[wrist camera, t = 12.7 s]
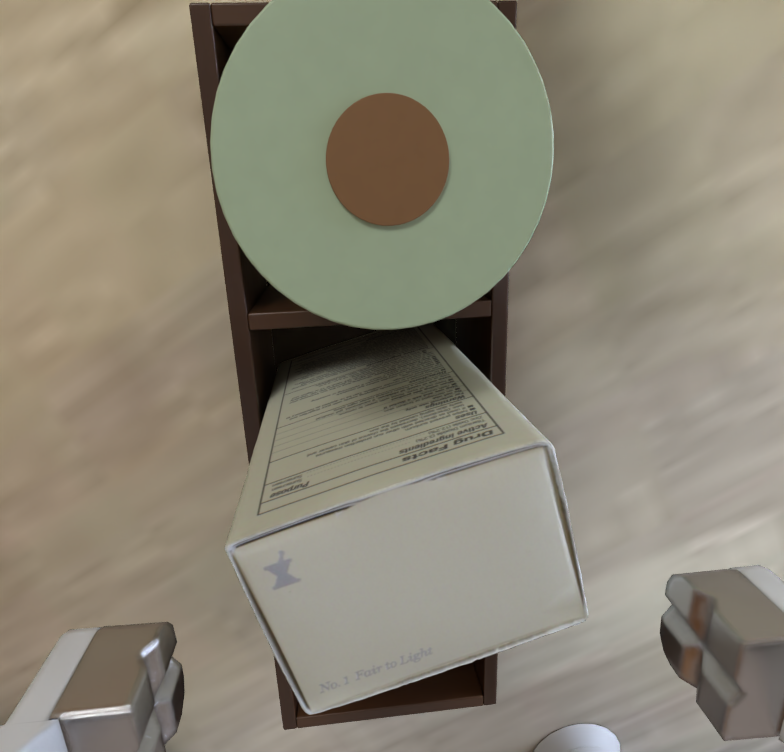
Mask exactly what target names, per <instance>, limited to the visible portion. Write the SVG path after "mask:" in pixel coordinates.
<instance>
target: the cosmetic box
mask: <svg viewBox="0 0 784 752" xmlns="http://www.w3.org/2000/svg"><path fill="white" fill-rule="evenodd" d="M225 551H226V553H227V555H228V557H229V559H230V561H231V563H232V565H233V567H234V569H235V572H236V575H237V577H238V580H239V582H240V584H241V585H242V587H243V590H244V592H245V594H246V596H247V598H248V600H249V603H250V606H251V608H252V609H253V611H254V614H255V617H256V619H257V620H258V622H259V624H260V626H261V628H262V630H263V632H264V634H265V636H266V638H267V641H268V643H269V645H270V647H271V649H272V651H273V653H274V656H275V658H276V660H277V662H278V663H279V666H280V667H281V669H282V672H283V674H284V675H285V677H286V679H287V681H288V683H289V685H290V686H291V688H292V690H293V692H294V694H295V696H296V698H297V699H298V701H299V704H300V706H301V708H302V709H303V710H304V712H305V713H307V714H309V715H312V714H317V713H321V712H323V711H326V710H329V709H332V708H336V707H340V706H343V705H346V704H349V703H352V702H355V701H359V700H362V699H365V698H368V697H371V696H374V695H377V694H379V693H382V692H386V691H389V690H392V689H395V688H398V687H400V686H403V685H406V684H409V683H412V682H416V681H419V680H421V679H424V678H427V677H430V676H433V675H436V674H439V673H442V672H445V671H447V670H450V669H452V668H455V667H458V666H462V665H465V664H469V663H472V662H474V661H475V660H477V659H482V658H483V657H487V656H490V655H493V654H496V653H499V652H502V651H505V650H508V649H511V648H514V647H516V646H518V645H521V644H524V643H526V642H529V641H532V640H535V639H538V638H541V637H544V636H546V635H549V634H553V633H555V632H558V631H560V630H563V629H566V628H569V627H572V626H574V625H578V624H580V623H582V622H584V621H586V619H587V618H588V608H587V602H586V598H585V593H584V588H583V582H582V576H581V571H580V566H579V561H578V555H577V550H576V546H575V540H574V535H573V531H572V526H571V521H570V516H569V510H568V505H567V500H566V496H565V492H564V487H563V483H562V479H561V474H560V470H559V465H558V461H557V456H556V452H555V448H554V446H553V445H552V443H551V442H550V441H549V440H548V439H547V438H546V437H545V436H544V435H543V434H542V433H541V432H540V431H539V430H537V429H536V428H535V427H534V426H533V425H532V424H531V423H530V421H529V420H528V419H527V418H526V417H525V416H524V415H523V414H522V413H521V412H520V411H519V410H518V409H517V408H516V407H515V406H514V405H513V404H512V403H511V402H510V401H509V400H508V399H507V398H506V397H505V396H504V395H503V394H502V393H501V392H500V391H499V390H498V389H497V388H496V387H495V386H494V385H493V384H492V383H491V382H490V381H489V380H488V379H487V378H486V377H485V375H484V374H483V373H482V372H481V371H480V370H479V369H478V368H477V367H476V366H475V365H474V364H473V363H472V362H471V361H470V360H469V359H468V358H467V357H466V356H465V355H464V354H463V353H462V352H461V351H460V350H459V349H458V348H457V347H456V346H455V345H454V344H453V343H452V342H451V341H450V340H449V339H448V338H447V337H446V336H445V335H444V334H443V333H442V332H441V331H440V330H439V329H438V328H437V327H436V326H435V324H434V323H433V322H432V323H428V324H425V325H421V326H417V327H412V328H404V329H396V330H379V331H375V332H372V333H369V334H366V335H362V336H359V337H356V338H353V339H350V340H347V341H344V342H340V343H337V344H334V345H331V346H328V347H325V348H322V349H319V350H315V351H312V352H310V353H307V354H304V355H301V356H298V357H295V358H292V359H289V360H286V361H284V362H282V363H280V364H279V367H278V370H277V373H276V376H275V380H274V384H273V387H272V391H271V394H270V398H269V401H268V404H267V407H266V411H265V414H264V417H263V421H262V424H261V428H260V431H259V435H258V438H257V441H256V444H255V447H254V451H253V454H252V458H251V461H250V465H249V468H248V471H247V476H246V479H245V482H244V486H243V489H242V492H241V496H240V499H239V502H238V506H237V509H236V512H235V515H234V518H233V522H232V525H231V528H230V532H229V535H228V538H227V541H226V545H225Z"/></svg>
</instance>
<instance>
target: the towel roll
mask: <svg viewBox="0 0 784 752" xmlns="http://www.w3.org/2000/svg"><path fill="white" fill-rule="evenodd" d="M210 148H211V163H212V172H213V177H214V182H215V187H216V192H217V195H218V198H219V201H220V205H221V208H222V211H223V214H224V216H225V219H226V221H227V223H228V225H229V227H230V229H231V231H232V234H233V236H234V238H235V239H236V241H237V242H238V244H239V246H240V247H241V249H242V250H243V252H244V254H245V255H246V257H247V258H248V259H249V260H250V262H251V263H252V264H253V265H254V267H255V268H256V269H257V270H258V272H259V273H260V274H261V275H262V276H263V277H264V278H265V279H266V280H267V281H268V282H269V283H270V284H271V285H272V286H273V287H274V288H275V289H276V290H278V291H279V292H280V293H282V294H283V295H284V296H286V297H287V298H288V299H290V300H291V301H292V302H294V303H295V304H297V305H299V306H301V307H302V308H304V309H306V310H308V311H309V312H311V313H313V314H315V315H318V316H320V317H323V318H325V319H328V320H330V321H332V322H336V323H340V324H344V325H347V326H351V327H357V328H364V329H372V330H396V329H404V328H412V327H417V326H421V325H425V324H428V323H432V322H435V321H438V320H440V319H443V318H445V317H448V316H450V315H453V314H455V313H456V312H458V311H460V310H462V309H464V308H465V307H467V306H469V305H471V304H472V303H474V302H475V301H476V300H478V299H479V298H480V297H482V296H483V295H485V294H486V293H487V292H488V291H489V290H491V289H492V288H493V287H494V286H495V285H496V284H497V283H498V282H499V281H500V280H501V279H502V278H503V277H504V276H505V275H506V274H507V272H508V271H509V270H510V269H511V268H512V267H513V265H514V264H515V263H516V262H517V260H518V259H519V257H520V256H521V254H522V253H523V251H524V250H525V248H526V247H527V245H528V243H529V241H530V239H531V237H532V235H533V233H534V231H535V229H536V227H537V225H538V223H539V220H540V218H541V215H542V212H543V209H544V207H545V204H546V200H547V196H548V192H549V187H550V183H551V177H552V168H553V159H554V133H553V125H552V117H551V109H550V105H549V101H548V97H547V93H546V89H545V85H544V83H543V80H542V78H541V75H540V72H539V70H538V67H537V65H536V62H535V61H534V59H533V57H532V55H531V53H530V51H529V49H528V48H527V46H526V44H525V42H524V40H523V39H522V38H521V36H520V35H519V34H518V32H517V31H516V29H515V28H514V27H513V25H512V24H511V22H510V21H509V20H508V19H507V18H506V17H505V16H504V15H503V14H502V13H501V12H500V11H499V9H498V8H497V7H496V6H495V5H494V4H493V3H492V2H490V1H489V0H272V1H271V2H270V3H268V4H267V5H266V6H265V7H264V9H263V10H262V11H261V12H260V13H259V14H258V15H257V16H256V17H255V19H254V20H253V21H252V22H251V23H250V24H249V26H248V27H247V29H246V30H245V32H244V33H243V35H242V36H241V38H240V39H239V41H238V42H237V44H236V45H235V47H234V49H233V51H232V53H231V56H230V58H229V60H228V62H227V64H226V66H225V68H224V71H223V74H222V77H221V80H220V83H219V86H218V89H217V92H216V97H215V102H214V108H213V113H212V120H211V137H210Z"/></svg>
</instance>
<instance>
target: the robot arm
mask: <svg viewBox="0 0 784 752" xmlns="http://www.w3.org/2000/svg"><path fill="white" fill-rule="evenodd" d="M665 595H666V597H667V598H668V600H669V601H670V602H671V604H672V605H671V606H670V607H669V608H668V610H667V611H666V612H665V613H664V614H663V615H662V617H661V627H660V636H661V641H662V646H663V650H664V653H665V655H666V657H667V659H668V661H669V664H670V665H671V667H672V668H673V670H674V671H675V672H676V674H677V675H678V677H679V678H681V679H682V680H684V681H686V682H687V683H689V684H690V685H692V686H694V687H695V688H697V691H696V702H697V704H698V705H699V707H700V708H701V709H702V711H703V712H704V714H705V715H706V716H707V718H708V719H709V721H710V722H711V723H712V725H713V726H714V728H715V729H716V730H717V732H718V733H719V735H720V736H721V737H722V739H723V740H724V741H728V740H740V739H751V738H763V737H774V736H779V740H780V741H782V742H783V743H784V581H782V580H781V579H780V578H779V577H778V576H777V575H775V574H774V573H773V572H772V571H771V570H770V569H768V568H765V567H763V566H761V565H753V566H744V567H735V568H730V569H722V570H712V571H702V572H693V573H683V574H673V575H671V577H670V578H669V580H668V581H667V585H666V591H665ZM176 643H177V640H176V636H175V631H174V627H173V625H172V624H171V623H169V622H159V623H145V624H131V625H116V626H104V627H97V628H83V629H70V630H68V631H67V632H66V633H64V634H63V635H61V637H60V638H59V639H58V641H57V643H56V644H55V646H54V647H53V649H52V650H51V652H50V654H49V655H48V657H47V658H46V660H45V662H44V663H43V665H42V666H41V668H40V669H39V671H38V673H37V674H36V676H35V677H34V679H33V681H32V682H31V684H30V685H29V687H28V688H27V690H26V692H25V693H24V695H23V696H22V698H21V700H20V701H19V703H18V704H17V706H16V708H15V709H14V711H13V712H12V714H11V715H10V717H9V719H8V720H7V722H6V723H5V725H0V752H166V750H165V744H166V743H167V742H168V741H169V740H170V739H171V738H172V737H173V736H174V735H175V733H176V732H177V729H178V726H179V722H180V719H181V715H182V708H183V700H184V675H183V670H182V664H180V663H179V662H178V661H177V660H176V659H174V658H173V657H172V655H173V652H174V649H175V646H176Z"/></svg>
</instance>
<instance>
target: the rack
mask: <svg viewBox="0 0 784 752" xmlns="http://www.w3.org/2000/svg"><path fill="white" fill-rule="evenodd" d="M490 2H492V3H493V4H494V5H495V6H496V7H497V8H498V9H499V11H500V12H501V13H502V14H503V15H504V16H505V17H506V18H507V19H508V20H509V21H510V22H511V24H512V25H513V27H514V28H515V29H516V18H517V2H516V1H499V2H498V3H497V2H496V1H490ZM268 3H270V2H263V3H212V4H211V5H210V4H209V3H190V5H189V8H190V16H191V23H192V31H193V39H194V46H195V54H196V62H197V69H198V77H199V85H200V92H201V100H202V108H203V115H204V123H205V131H206V138H207V146H208V154H209V162H210V169H211V177H212V185H213V192H214V200H215V208H216V215H217V223H218V231H219V238H220V246H221V254H222V261H223V269H224V277H225V284H226V292H227V300H228V307H229V315H230V323H231V330H232V338H233V346H234V353H235V361H236V369H237V376H238V384H239V392H240V399H241V407H242V415H243V422H244V430H245V438H246V445H247V453H248V461H249V465H250V461H251V458H252V454H253V451H254V447H255V444H256V441H257V438H258V435H259V431H260V428H261V424H262V421H263V417H264V414H265V411H266V407H267V404H268V401H269V398H270V394H271V391H272V387H273V384H274V380H275V376H276V367H275V358H274V349H273V339H272V330H271V329H283V328H300V327H317V326H335V325H344V324H340V323H336V322H332V321H330V320H328V319H325V318H323V317H320V316H318V315H315V314H313V313H311V312H309V311H308V310H306V309H304V308H302V307H301V306H299V305H297V304H295V303H294V302H292V301H291V300H290V299H288V298H287V297H286V296H284V295H283V294H282V293H280V292H279V291H278V290H276V289H275V288H274V287H273V286H270V287H267V283H266V279H265V278H264V277H263V276H262V275H261V274H260V273H259V272H258V270H257V269H256V268H255V267H254V265H253V264H252V263H251V262H250V260H249V259H248V258H247V257H246V255H245V254H244V252H243V250H242V249H241V247H240V246H239V244H238V242H237V241H236V239H235V238H234V236H233V234H232V231H231V229H230V227H229V225H228V223H227V221H226V219H225V216H224V214H223V211H222V208H221V205H220V201H219V198H218V195H217V192H216V187H215V182H214V177H213V172H212V163H211V148H210V137H211V120H212V113H213V108H214V102H215V97H216V92H217V89H218V86H219V83H220V80H221V77H222V74H223V71H224V68H225V66H226V64H227V62H228V60H229V58H230V56H231V53H232V51H233V49H234V47H235V45H236V44H237V42H238V41H239V39H240V38H241V36H242V35H243V33H244V32H245V30H246V29H247V27H248V26H249V24H250V23H251V22H252V21H253V20H254V19H255V17H256V16H257V15H258V14H259V13H260V12H261V11H262V10H263V9H264V7H265V6H266V5H267V4H268ZM508 286H509V271H508V272H507V274H506V275H505V276H504V277H503V278H502V279H501V280H500V281H499V282H498V283H497V284H496V285H495V286H494V287H493V288H492V289H491V290H489V291H488V292H487V293H486V294H485V295H483V296H482V297H480V298H479V299H478V300H476V301H475V302H474V303H472V304H471V305H469V306H467V307H465V308H464V309H462V310H460V311H458V312H456V313H455V314H453V315H450V316H448V317H445V318H443V319H454V318H456V347H457V348H458V349H459V350H460V351H461V352H462V353H463V354H464V355H465V356H466V357H467V358H468V359H469V360H470V361H471V362H472V363H473V364H474V365H475V366H476V367H477V368H478V369H479V370H480V371H481V372H482V373H483V374H484V375H485V377H486V378H487V379H488V380H489V381H490V382H491V383H492V384H493V385H494V386H495V387H496V388H497V389H498V390H499V391H500V392H501V393H502V394H503V395H504V396H505V387H506V353H507V320H508ZM497 655H498V653H496V654H493V655H490V656H487V657H483V658H482V659H477V660H475V661H474V662H472V663H469V664H465V665H462V666H458V667H455V668H452V669H450V670H447V671H445V672H442V673H439V674H436V675H433V676H430V677H427V678H424V679H421V680H419V681H416V682H412V683H409V684H406V685H403V686H400V687H398V688H395V689H392V690H389V691H386V692H382V693H379V694H377V695H374V696H371V697H368V698H365V699H362V700H359V701H355V702H352V703H349V704H346V705H343V706H340V707H336V708H332V709H329V710H326V711H323V712H321V713H317V714H312V715H309V714H307V713H305V712H304V710H303V709H302V708H301V706H300V704H299V701H298V699H297V698H296V696H295V694H294V692H293V690H292V688H291V686H290V685H289V683H288V681H287V679H286V677H285V675H284V674H283V672H282V669H281V667H280V666H279V663H278V662H277V660H276V658H275V656H274V660H275V668H276V675H277V683H278V691H279V698H280V706H281V714H282V721H283V728H284V730H287V729H295V728H297V727H298V728H303V727H311V726H319V725H327V724H335V723H344V722H352V721H360V720H368V719H376V718H384V717H393V716H401V715H409V714H417V713H425V712H433V711H442V710H450V709H458V708H466V707H474V706H482V705H483V704H484V705H491V704H496V689H497Z"/></svg>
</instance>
